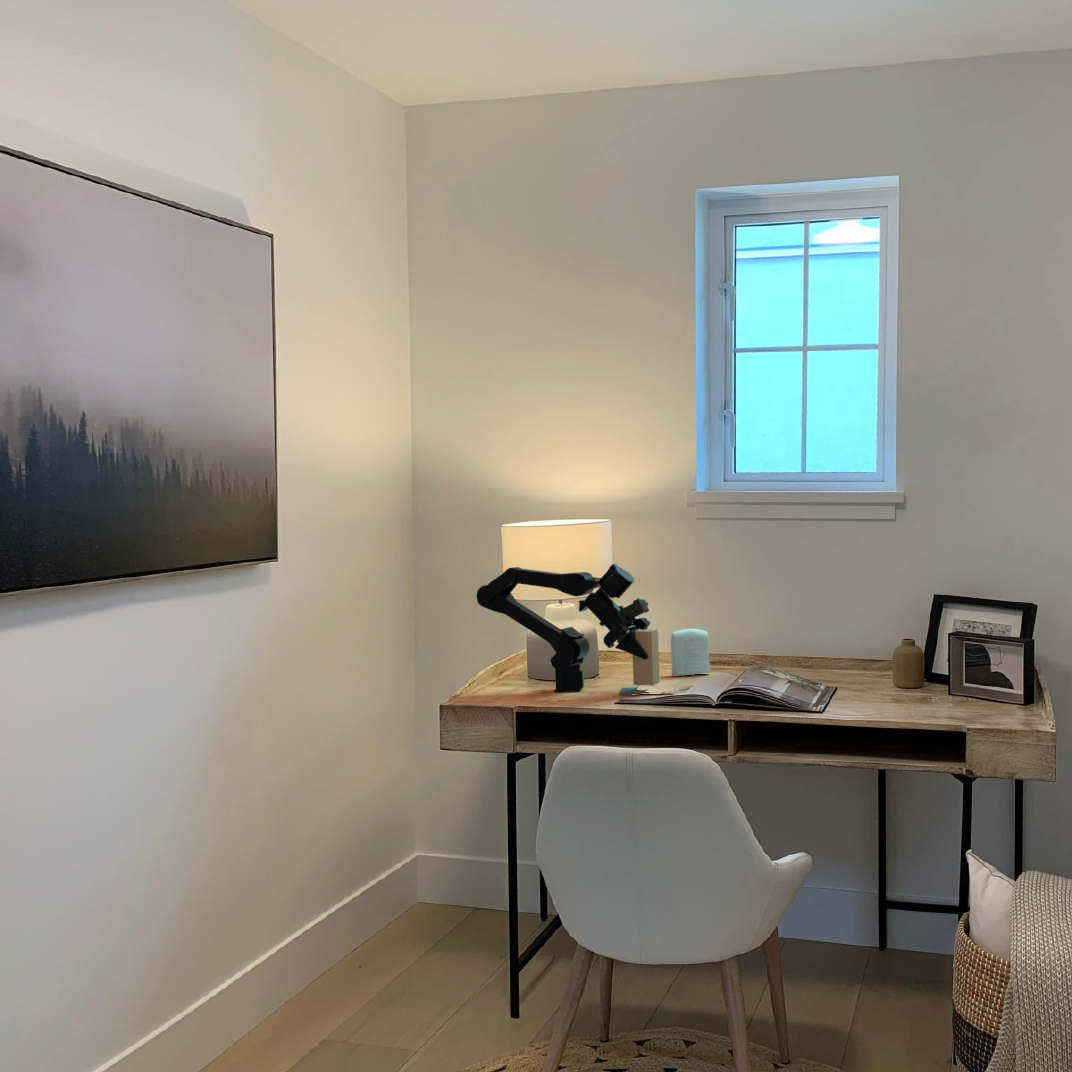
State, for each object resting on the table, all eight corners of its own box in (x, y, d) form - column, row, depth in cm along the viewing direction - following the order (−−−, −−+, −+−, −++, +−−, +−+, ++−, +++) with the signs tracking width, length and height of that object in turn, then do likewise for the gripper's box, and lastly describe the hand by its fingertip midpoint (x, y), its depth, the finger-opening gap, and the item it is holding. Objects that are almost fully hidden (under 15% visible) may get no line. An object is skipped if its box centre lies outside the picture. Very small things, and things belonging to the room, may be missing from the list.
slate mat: (619, 695, 288) (619, 693, 288) (622, 689, 297) (622, 687, 297) (673, 694, 286) (673, 692, 286) (674, 688, 295) (674, 686, 295)
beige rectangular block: (633, 684, 290) (631, 631, 290) (640, 682, 295) (638, 629, 294) (653, 685, 288) (651, 631, 288) (659, 682, 292) (657, 629, 292)
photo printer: (707, 673, 320) (705, 627, 320) (712, 675, 316) (710, 628, 316) (670, 675, 319) (668, 629, 319) (674, 677, 315) (672, 630, 314)
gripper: (613, 591, 284) (659, 638, 280) (641, 585, 301) (684, 629, 296) (584, 624, 288) (629, 670, 283) (613, 616, 304) (655, 660, 300)
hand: (651, 656), depth 291 cm, fingers closed on beige rectangular block, 5 cm apart
